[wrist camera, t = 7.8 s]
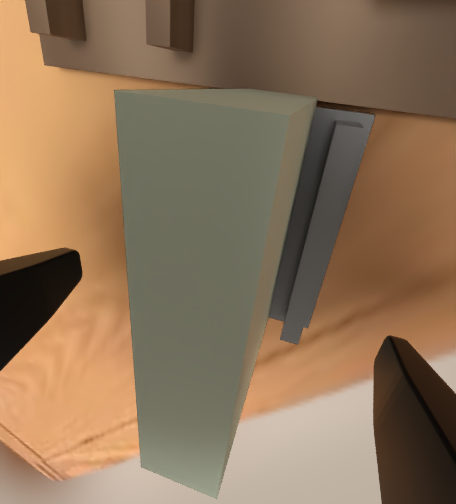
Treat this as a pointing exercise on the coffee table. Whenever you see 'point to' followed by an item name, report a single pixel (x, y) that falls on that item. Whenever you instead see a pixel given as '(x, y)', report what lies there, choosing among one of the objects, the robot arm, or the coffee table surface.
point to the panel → (203, 258)
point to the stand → (318, 213)
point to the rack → (266, 46)
